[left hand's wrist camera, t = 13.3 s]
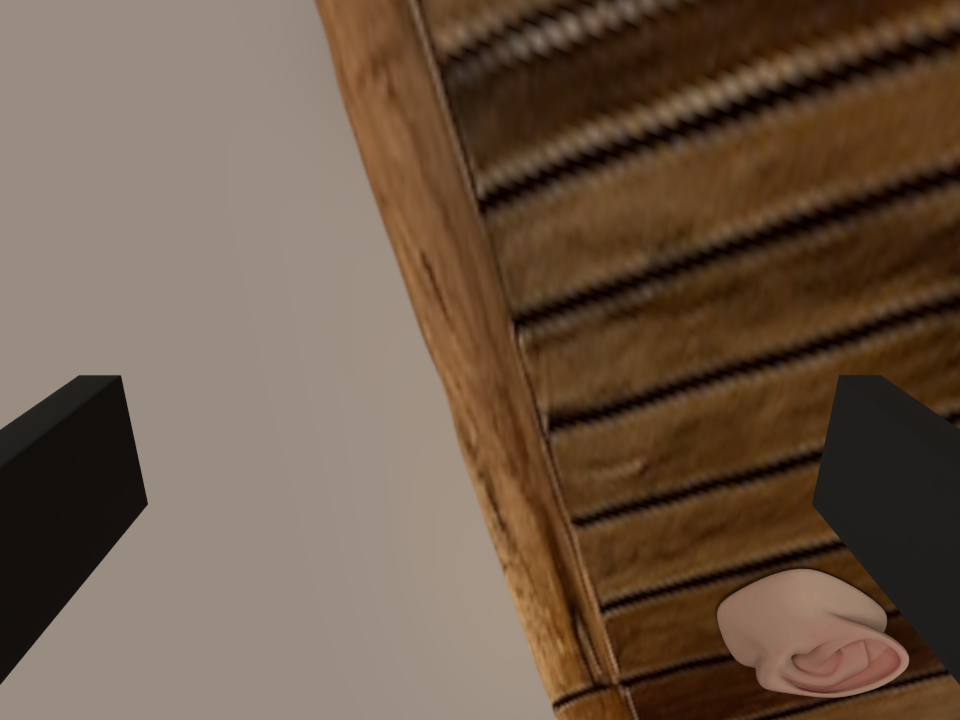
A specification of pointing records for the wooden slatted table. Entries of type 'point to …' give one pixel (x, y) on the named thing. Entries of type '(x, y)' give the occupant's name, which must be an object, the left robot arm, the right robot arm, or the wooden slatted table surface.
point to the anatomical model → (810, 635)
